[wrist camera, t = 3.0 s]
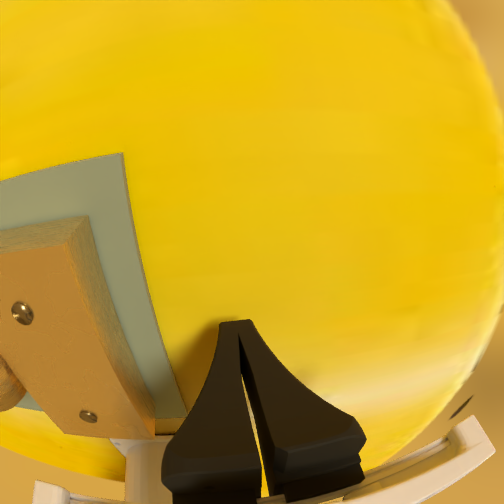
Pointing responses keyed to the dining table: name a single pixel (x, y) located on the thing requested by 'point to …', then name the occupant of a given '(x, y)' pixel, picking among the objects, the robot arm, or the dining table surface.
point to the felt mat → (101, 255)
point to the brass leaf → (67, 335)
